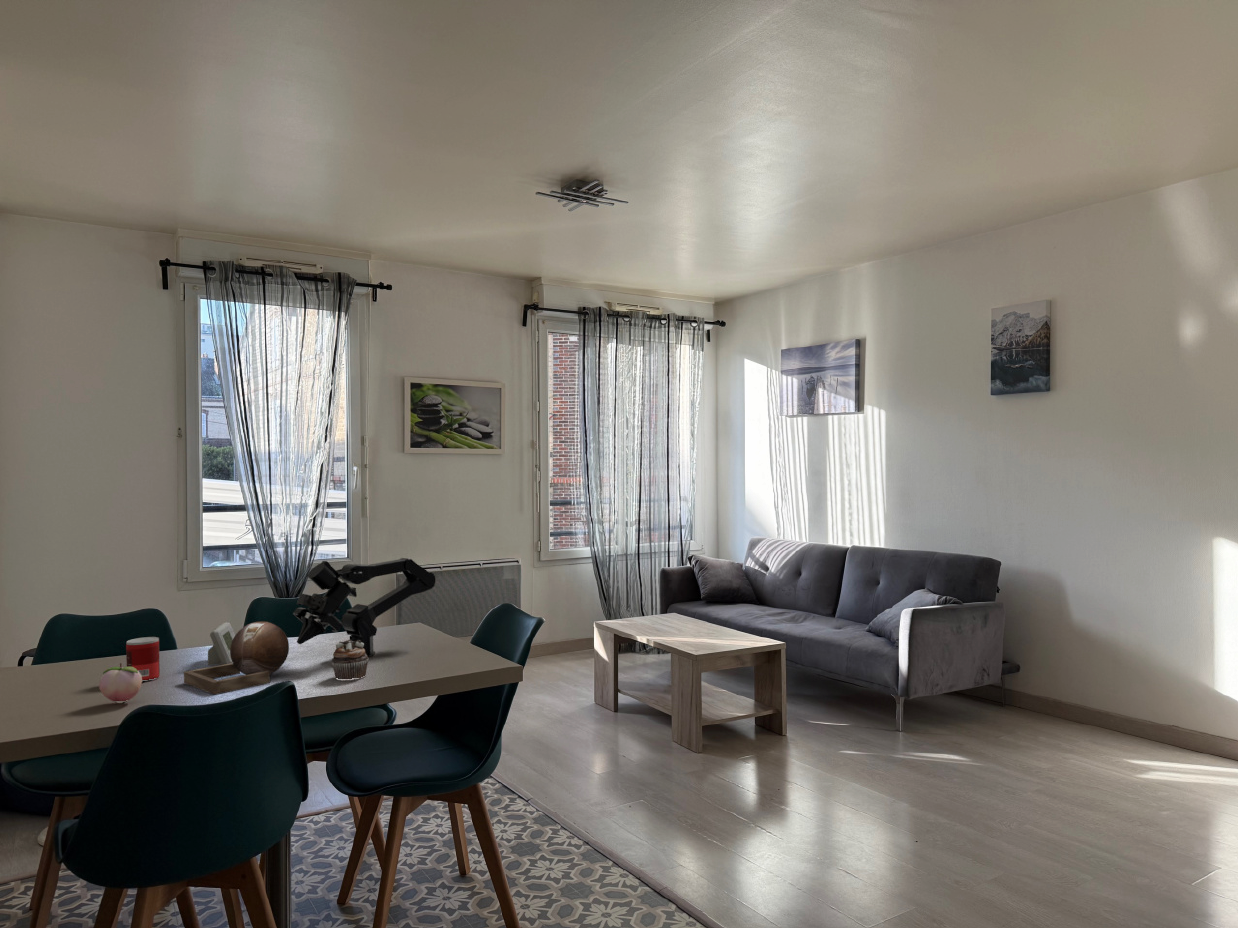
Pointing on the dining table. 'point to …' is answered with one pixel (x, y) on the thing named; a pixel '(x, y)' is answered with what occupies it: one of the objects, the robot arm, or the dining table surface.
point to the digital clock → (221, 645)
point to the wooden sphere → (259, 648)
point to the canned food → (144, 656)
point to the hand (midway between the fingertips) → (298, 643)
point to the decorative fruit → (120, 683)
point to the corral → (207, 683)
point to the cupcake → (350, 660)
